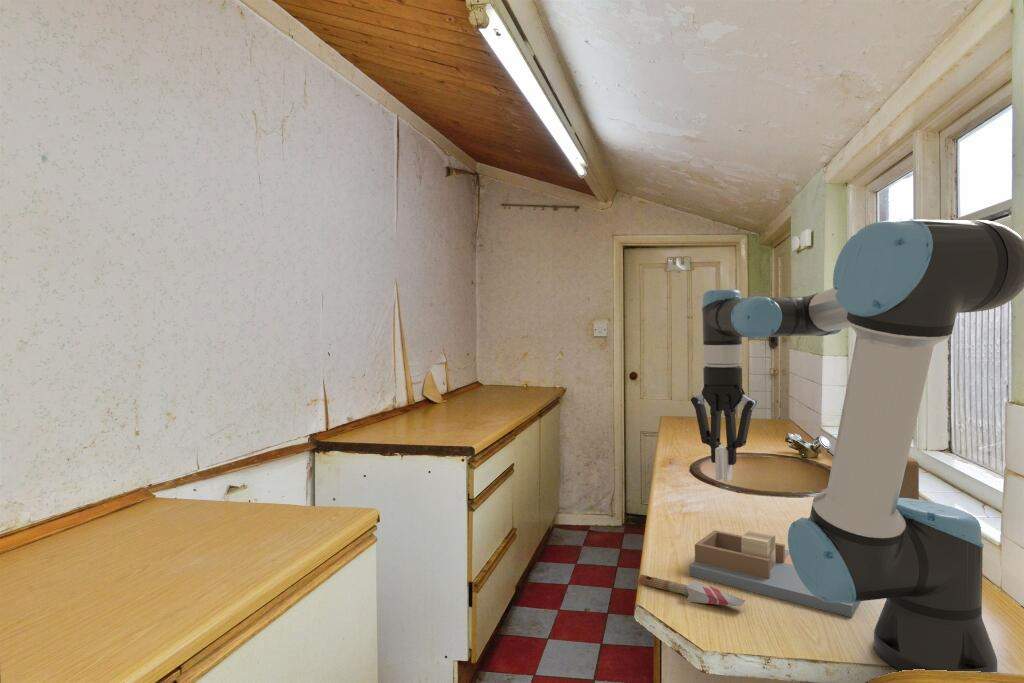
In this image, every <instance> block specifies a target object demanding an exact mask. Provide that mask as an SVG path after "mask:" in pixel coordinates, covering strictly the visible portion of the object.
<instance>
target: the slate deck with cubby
mask: <svg viewBox="0 0 1024 683" xmlns="http://www.w3.org/2000/svg"><path fill="white" fill-rule="evenodd" d="M742 536H743V535H739V534H735V533H732V532H731V533H729V532H726V531H725V532H724V531H720V530H716V529H715V530H713V531H711V532H710V533H709V534H707V535H705V536H704V537H703V538H702V539H700V540H699V541H698V542H696V543H694V561H693V562H692V563H691V564H690V565H689V576H691V577H696V578H698V579H703V580H707V581H709V582H714V583H717V584H722V585H725V586H729V587H730V586H731V587H733V588H737V589H741V590H746V591H748V592H753V593H757V594H761V595H764V596H768V597H771V598H775V599H778V600H779V599H780V600H784V601H788V602H790V603H795V604H798V605H803V606H807V607H809V608H814V609H818V610H822V611H825V612H830V613H832V614H837V615H841V616H846V617H848V618H853V616H854V615H855V612H856V611H857V609H858V607H859V605H860V604H861V601H858V602H854V603H850V604H848V603H828V602H824V601H822V600H820V599H818V598H817V597H815V596H814V595H813V594H812V593H811V592H810V591H809V590H808V589H807V588H806V587H805V585H804V584H803V583H802V581H801V580H800V578H799V576H798V574H797V572H796V570H795V568H794V565H793V563H792V560H791V557H790V553H789V549H785V547H786V546H785V545H786V544H784V543H779V542H775V560H776V565H775V566H774V567H773V568H772V569H771V570H770V559H767V558H763V557H758V556H754V555H749V554H745V553H741V537H742Z"/></svg>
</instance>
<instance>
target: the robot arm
mask: <svg viewBox="0 0 1024 683" xmlns="http://www.w3.org/2000/svg"><path fill="white" fill-rule="evenodd" d="M832 277H833V278H832V288H829V289H826V290H823V291H820V292H817V293H813V294H810V295H805V296H767V297H766V296H761V295H758V296H753V295H752V296H747V297H742V293H741V291H740V290H739V289H715V290H714V289H713V290H712V289H711V290H707V291H705V292H704V293H703V296H702V307H701V313H702V314H701V315H702V342H703V343H702V348H703V350H702V351H703V352H702V353H703V354H702V356H703V357H702V363H703V364H704V365H705V366H704V367H703V369H702V370H703V371H702V372H703V388H702V390H701V393H699V394H698V395H697V396H694V397H693V396H692V397H691V399H690V402H691V404H692V405H693V407H694V409H695V414H696V419H697V420H696V421H697V424H698V425H697V426H698V430H699V434H700V435H699V436H700V440H701V443H702V444H705V445H708V446H709V447H710V461H711V463H714V464H715V481H721V480H723V482H727V483H728V482H730V481H731V480H733V466H734V465H736V464H737V449H740V448H741V447H744V446H745V445H747V440H748V434H749V430H750V424H751V418H752V413H753V410H754V409H755V407H756V406H757V403H758V401H757V400H756V399H755V398H754V399H751V398H750V397H748V396H747V395H746V394H745V393H746V392H745V390H744V389H743V367H741V366H740V365H741V364H742V363H743V359H742V358H743V350H742V349H743V348H742V347H743V344H742V343H743V342H742V338H747V339H763V338H769V337H772V338H774V337H776V338H777V337H797V336H798V337H799V336H800V337H802V336H806V337H807V336H808V337H810V336H815V337H824V336H830V335H831V336H832V335H836V334H839V333H841V332H842V330H843V329H848V328H851V329H852V330H853V332H855V334H856V337H855V342H854V347H853V353H852V359H851V363H850V368H849V374H848V380H847V384H846V389H845V395H844V399H843V404H842V409H841V415H840V420H839V425H838V430H837V431H838V432H837V435H836V436H837V437H836V441H835V446H834V452H833V457H832V461H831V467H830V472H829V473H830V474H829V479H828V483H827V488H826V490H824V491H821V492H819V493H817V494H815V496H813V499H812V504H811V510H810V514H809V517H808V518H807V517H800V518H798V519H796V520H795V521H792V522H791V524H790V526H789V529H788V532H787V547H788V550H789V553H790V557H791V560H792V563H793V565H794V568H795V570H796V572H797V574H798V576H799V578H800V580H801V581H802V583H803V584H804V585H805V587H806V588H807V589H808V590H809V591H810V592H811V593H812V594H813V595H814V596H815V597H817V598H818V599H820V600H822V601H824V602H828V603H848V604H850V603H854V602H858V601H860V602H865V601H873V600H874V601H875V600H884V599H886V600H885V602H884V604H883V606H882V610H881V612H880V615H879V617H878V620H877V622H876V624H875V626H874V630H873V648H874V651H875V653H876V654H877V655H878V657H880V658H881V659H882V660H883V661H884V662H886V664H888V665H889V666H890V667H893V668H894V669H896V670H898V671H900V672H902V670H913V669H925V670H947V671H981V672H997V673H998V657H997V655H996V653H995V649H994V647H993V643H992V642H991V639H990V637H989V634H988V631H987V628H986V626H985V623H984V620H983V613H982V610H983V606H982V604H983V552H984V550H983V548H984V543H983V541H982V540H983V539H982V538H983V537H982V527H981V524H980V522H979V520H978V519H977V518H976V517H975V516H973V515H972V514H971V513H969V512H966V511H964V510H961V509H958V508H956V507H953V506H950V505H945V504H941V503H938V502H937V503H936V502H933V501H928V500H922V499H919V500H917V499H910V498H899V494H900V490H901V486H902V481H903V477H904V473H905V468H906V464H907V460H908V457H909V455H910V449H911V445H912V441H913V437H914V432H915V429H916V425H917V420H918V416H919V411H920V408H921V403H922V399H923V394H924V390H925V386H926V382H927V378H928V372H929V369H930V368H929V367H930V363H931V359H932V355H933V351H934V348H935V346H936V345H937V344H939V343H941V342H943V341H945V340H946V339H948V338H950V337H952V335H953V330H954V326H955V322H956V318H957V314H959V313H960V314H961V313H977V312H985V311H990V310H992V309H996V308H1000V307H1002V306H1003V305H1005V304H1007V303H1009V302H1011V301H1012V300H1014V299H1015V298H1016V297H1017V296H1018V295H1020V293H1021V292H1022V291H1023V290H1024V239H1023V237H1021V236H1020V234H1018V233H1017V232H1016V231H1014V230H1013V229H1011V228H1009V227H1008V226H1006V225H1003V224H1001V223H999V222H995V221H991V220H987V219H986V220H984V219H983V220H982V219H981V220H980V219H966V220H956V219H955V220H954V219H953V220H951V219H950V220H948V219H913V218H906V219H905V218H900V219H895V220H893V219H892V220H883V221H882V220H881V221H877V222H872V223H870V224H867V225H865V226H864V227H862V228H861V229H859V230H858V231H857V232H856V234H854V235H852V236H850V238H849V239H848V240H847V241H846V242H845V244H844V245H843V246H842V249H841V251H840V252H839V254H838V256H837V259H836V261H835V265H834V270H833V275H832ZM741 402H742V403H741ZM706 403H707V404H708V406H709V407H710V409H709V413H710V424H709V420H708V414H707V409H706V405H705V404H706ZM740 403H741V406H742V410H741V413H740V415H741V416H740V421H739V425H738V430H737V420H736V414H737V410H736V409H737V408H738V406H739V404H740ZM722 414H723V416H724V421H725V433H726V434H725V436H726V437H725V438H726V447H725V446H721V445H722V442H721V428H722ZM709 425H710V426H709ZM724 447H725V448H724Z"/></svg>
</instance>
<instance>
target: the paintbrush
mask: <svg viewBox="0 0 1024 683" xmlns="http://www.w3.org/2000/svg"><path fill="white" fill-rule="evenodd" d="M638 583H639V584H640V585H642V586H643V585H644V586H650V587H653V588H656V589H659V590H665V591H668V592H673V593H676V594H682V595H686V596H687V599H686V601H687V602H690V603H696V604H697V603H699V604H711V605H718V606H719V605H720V606H721V605H722V606H732V607H742V606H743V604H745V602H747V601H746V599H743V598H741V597H737V596H736V595H733V594H730V593H728V592H725V591H722V590H720V589H718V588H715V587H713V586H710V585H708V584H705V583H702V582H701V581H697V580H695V579H694V580H692V581H691V582H690V583H689V584H684V583H681V582H676V581H672V580H668V579H664V578H659V577H654V576H653V577H652V576H649V575H646V574H640V575H639V577H638Z"/></svg>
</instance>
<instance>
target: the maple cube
mask: <svg viewBox="0 0 1024 683" xmlns="http://www.w3.org/2000/svg"><path fill="white" fill-rule="evenodd" d="M741 536H742V537H741V553H745V554H749V555H754V556H758V557H763V558H767V559H770V570H771V569H772V568H773V567H774V566H775V565H776V560H775V543H776V534H770V533H767V532H766V533H765V532H761V531H756V530H750V529H749V530H748V531H747V532H745V533H744V534H743V535H741Z"/></svg>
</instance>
